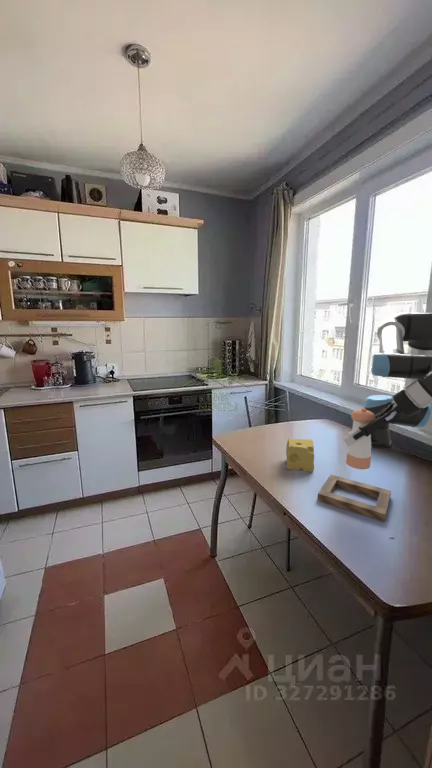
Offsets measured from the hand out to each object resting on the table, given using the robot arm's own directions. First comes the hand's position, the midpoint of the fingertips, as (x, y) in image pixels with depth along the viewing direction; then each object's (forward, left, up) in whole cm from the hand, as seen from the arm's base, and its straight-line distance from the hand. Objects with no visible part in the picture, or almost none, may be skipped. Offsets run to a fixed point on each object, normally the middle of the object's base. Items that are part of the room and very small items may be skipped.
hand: (348, 439), depth 104 cm
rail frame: (-2, +3, -20) cm, 21 cm away
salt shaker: (-2, +3, -8) cm, 9 cm away
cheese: (+3, -24, -21) cm, 32 cm away
